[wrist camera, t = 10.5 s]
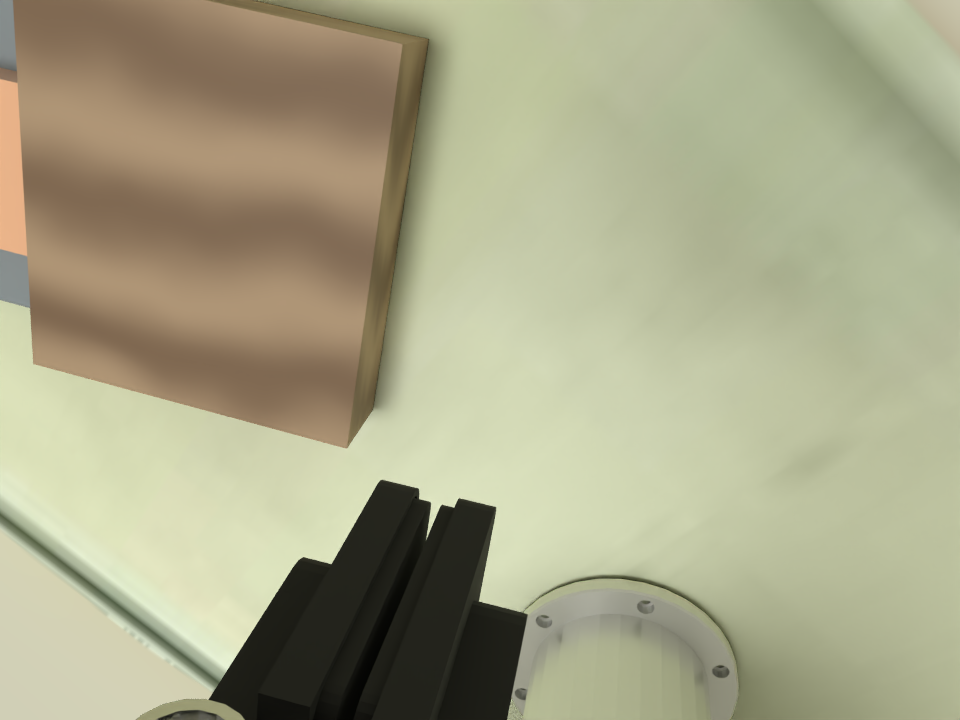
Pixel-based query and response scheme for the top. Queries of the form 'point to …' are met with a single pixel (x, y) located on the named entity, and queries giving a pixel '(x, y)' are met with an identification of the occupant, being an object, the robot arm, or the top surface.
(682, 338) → the top surface
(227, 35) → the deck
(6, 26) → the mat
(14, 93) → the tile
